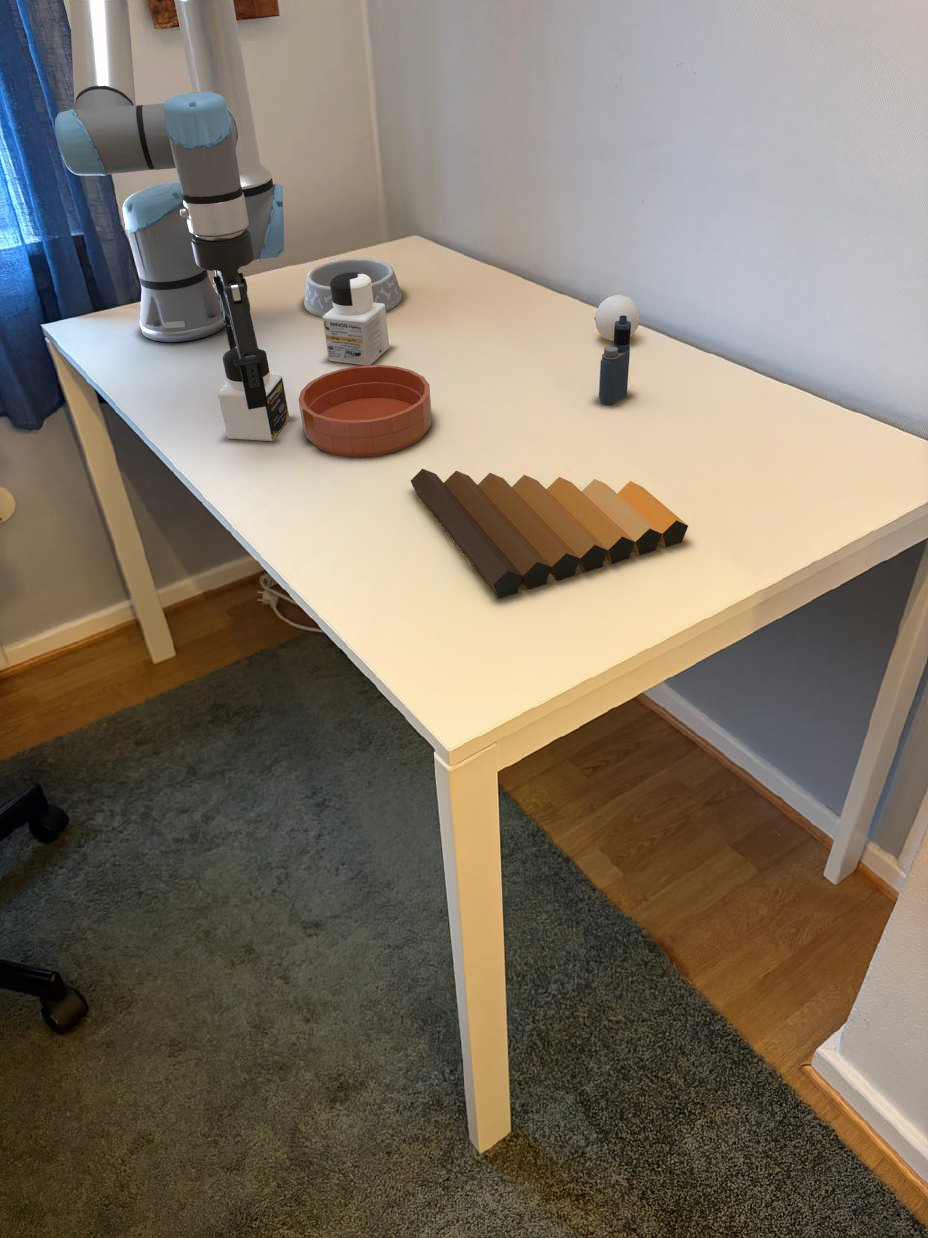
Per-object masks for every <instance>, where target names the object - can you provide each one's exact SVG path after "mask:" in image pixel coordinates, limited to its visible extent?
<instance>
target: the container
mask: <svg viewBox="0 0 928 1238" xmlns="http://www.w3.org/2000/svg"><path fill="white" fill-rule="evenodd" d="M330 288H331V296H332V303H333V307H334V308H332V309H331V310H330V311H328V312H327V313H326V314H325V315H323V317H322V323H323V330H324V331H323V332H324V338H325V346H326V350H327V352H326V353H327V359H328V361H329V362H335V363H344V364H352V365H357V366H366V365H373V363H374V362H375V361H377V360H378V359H379V358H380V357H381V356H382V355H383V354H384V353H385V352H386V351H388V350H389V349H390V340H389V330H388V320H387V311H386V309H385V304H383V303H373V294H372V285H371V279H370V277H369V276H367V275H365V274H362V273H358V272H348V273H343V274H340V275H338V276H336V277H334V278H333V279H332V280H331V282H330Z"/></svg>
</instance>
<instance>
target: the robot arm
mask: <svg viewBox="0 0 928 1238" xmlns="http://www.w3.org/2000/svg"><path fill="white" fill-rule="evenodd" d="M173 1H174V5H175V6H174V7H175V12H176V16H177V21H178V24H179V32H180V35H181V41H182V45H183V51H184V55H185V60H186V66H187V70H188V75H189V81H190V86H191V91H192V92H189V93H188V92H187V93H182V94H177V95H174V96H171V97H168V98H166V100H165V102H163V103H152V104H137V105H136V90H135V78H134V76H135V75H134V64H133V50H132V35H131V34H132V33H131V23H130V9H129V7H130V6H129V0H69V16H70V38H71V39H70V40H71V58H72V59H71V60H72V75H73V76H72V81H73V103H74V104H73V105H74V108H70V109H69V110H66V111H65V110H64V111H61V112H58V113H57V115H56V117H55V120H54V129H55V136H56V140H57V141H56V142H57V145H58V148H59V151H60V154H61V157H62V161H63V162H64V164H65V167H66V168H67V169H68V171H70V172H71V173H72V174H74V175H76V176H107V175H115V174H125V173H135V172H144V171H154V170H156V171H159V170H170V169H175V170H176V171H175V172H176V175H177V178H178V179H177V180H178V181H169V182H164V183H159V184H156V185H153V186H149V187H146V188H144V189H143V188H142V189H141V190H138V191H137V192H134V193H133V194H131V195H130V196H128V197H127V198H126V199H125V201H124V202H123V204H122V213H123V214H122V215H123V219H124V224H125V229H124V230H125V233H126V234H127V237H128V241H129V245H130V248H131V252H132V256H133V259H134V263H135V268H136V272H137V275H138V276H137V277H138V279H139V283H140V288H141V295H140V309H139V311H140V312H139V326H140V329H141V333H142V335H143V336H144V337H145V338H147V339H149V340H151V341H155V342H163V343H178V342H179V343H181V342H187V341H194V340H199V339H203V338H206V337H210V336H211V335H214V334H216V333H217V332H219V331H221V330H222V329H224V328H225V333H226V338H227V342H228V343H227V344H228V348H229V350H230V349H232V348H235V347H237V351H238V355H239V359H236V360H234V362H235V366H240V371H241V376H242V381H243V386H244V391H245V396H246V401H247V406H248V409H249V410H250V409H255V408H261V407H266V406H268V401H267V396H266V391H265V385H264V380H263V375H262V369H261V364H260V362H261V355H260V354H259V350H258V347H259V346H258V342H257V337H256V333H255V327H254V324H253V320H252V315H251V304H250V300H249V295H248V284H247V280H246V278H245V277H244V274H243V272H239V269H241V268H242V267H245V266H248V265H250V264H251V263H252V262H256V261H257V262H261V261H263V260H269V259H275V258H276V259H277V258H279V257H280V256H281V255H282V254H283V253H284V250H285V222H284V221H285V220H284V219H285V217H284V193H283V186H282V185H281V184H278V183H274V181H273V175H272V172H271V171H270V170H269V169H267V168H266V167H265V166H264V165H262V163H261V158H260V152H259V147H258V139H257V135H256V128H255V123H254V117H253V111H252V104H251V99H250V93H249V87H248V81H247V75H246V69H245V63H244V57H243V51H242V46H241V45H242V44H241V40H240V33H239V27H238V21H237V16H236V10H235V3H234V0H173ZM209 271H210V272H213V271H214V276H213V277H212V281H213V284H212V281H211V280H210V277H209V273H208V272H209ZM251 352H253V353H252V354H246V353H251ZM244 354H246V355H244Z"/></svg>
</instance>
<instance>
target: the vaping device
mask: <svg viewBox="0 0 928 1238" xmlns="http://www.w3.org/2000/svg"><path fill="white" fill-rule="evenodd" d="M630 333H631V322H629V321H627V316H624V315H623V316H620V317H619V321H616V322H615V325H614V341H613V345H608V346H605V347H604V348H603V353H602V355H601V359H600V362H599V363H600V364H599V367H600V368H599V385H598V386H599V387H598V398H599V403H600V404H602V405H605V406H612V405H614V404H616V403H618V402H619V401H621V400H623V399H624V398H626V397H627V396H628V385H629V371H630V357H631V356H630V354H631V336H630Z"/></svg>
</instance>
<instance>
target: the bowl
mask: <svg viewBox="0 0 928 1238" xmlns="http://www.w3.org/2000/svg"><path fill="white" fill-rule="evenodd" d="M297 401H298V406H299V413H300V419H301V425H302V430H303V432H304V434H305V437H306V439H307V440H308V441H310V443H311V444H312V445H313V446H315V447H316V448H317V449H319V450H321V451H323V452H325V453H327V454H331V455H336V456H342V457H349V458H350V457H351V458H363V457H366V458H367V457H368V458H369V457H376V456H377V457H378V456H382V455H387V454H391V453H395V452H399V451H401V450H403V449H407V448H408V447H410V446H412V445H414V444H415V443H417V442H418V441H419V440H421V439H422V438H423V437H424V436H425V435H426V433H427V431H428V430H429V428H430V427H431V425H432V421H433V420H432V419H433V418H432V416H433V413H432V412H433V411H432V400H431V386H430V383H429V382H428V380H427V379H426V378H425V376H423V375H421V374H420V373H418V372H416V371H414V370H411V369H408V368H404V367H401V366H396V365H385V364H383V365H382V364H371V365H355V366H350V367H345V368H340V369H337V370H334V371H330V372H327V373H325V374H322V375H320V376H318V377H316V378H314V379H313V380H311V381H310V382H308V383H307V384H306V385H305V386H304V387H303V388H302V389H301V390H300V393H299V397H298V400H297Z"/></svg>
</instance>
